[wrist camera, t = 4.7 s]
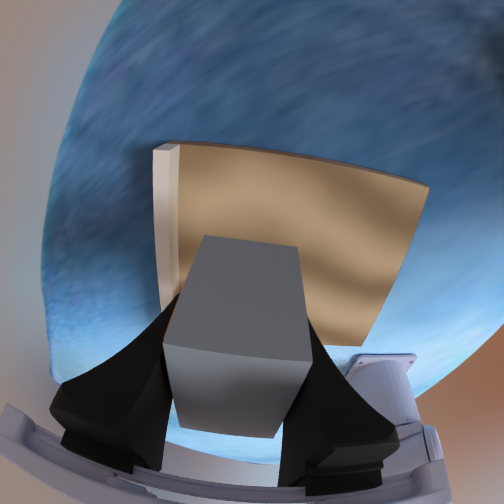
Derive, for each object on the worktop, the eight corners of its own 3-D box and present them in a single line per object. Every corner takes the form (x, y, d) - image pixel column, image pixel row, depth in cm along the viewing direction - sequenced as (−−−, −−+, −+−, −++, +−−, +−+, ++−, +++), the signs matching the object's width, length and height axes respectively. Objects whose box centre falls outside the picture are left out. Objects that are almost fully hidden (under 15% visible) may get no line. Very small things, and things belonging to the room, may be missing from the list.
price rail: (181, 328, 25) (176, 344, 23) (169, 326, 25) (164, 342, 23) (180, 144, 16) (169, 150, 15) (163, 143, 16) (151, 149, 15)
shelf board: (358, 337, 26) (361, 346, 25) (174, 317, 26) (171, 326, 25) (422, 182, 18) (429, 188, 17) (170, 140, 17) (165, 143, 16)
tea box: (274, 339, 15) (273, 438, 10) (199, 329, 15) (176, 426, 10) (297, 246, 12) (312, 362, 7) (200, 234, 12) (157, 342, 7)
